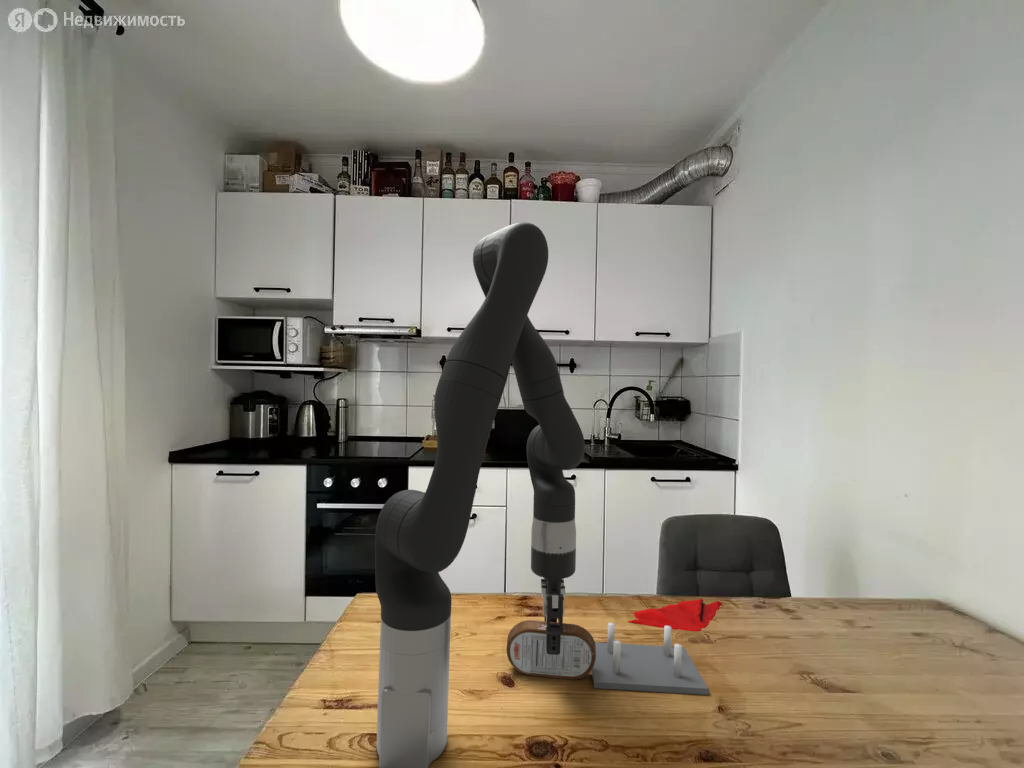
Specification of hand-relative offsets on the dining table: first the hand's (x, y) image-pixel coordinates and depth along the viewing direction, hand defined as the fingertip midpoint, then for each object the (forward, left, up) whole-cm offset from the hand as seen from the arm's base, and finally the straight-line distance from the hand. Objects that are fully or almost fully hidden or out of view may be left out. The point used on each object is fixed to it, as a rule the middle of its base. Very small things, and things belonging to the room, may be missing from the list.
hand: (551, 638), depth 80 cm
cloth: (+23, -28, -7) cm, 37 cm away
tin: (-1, 0, -6) cm, 6 cm away
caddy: (+2, -16, -6) cm, 17 cm away
